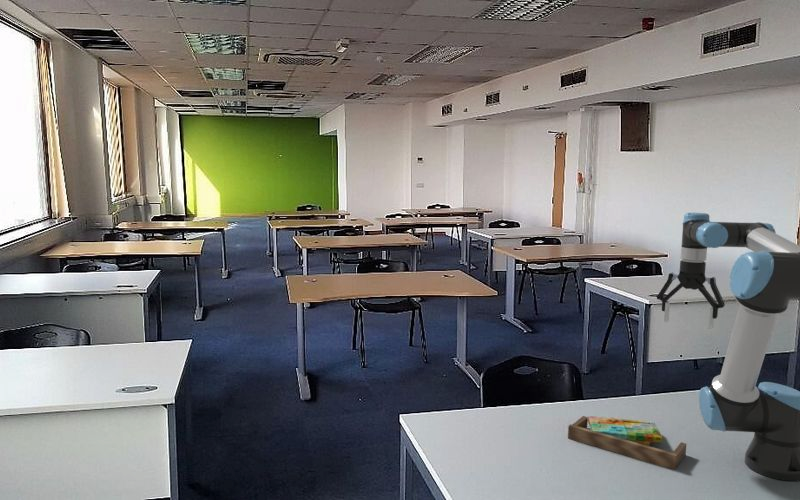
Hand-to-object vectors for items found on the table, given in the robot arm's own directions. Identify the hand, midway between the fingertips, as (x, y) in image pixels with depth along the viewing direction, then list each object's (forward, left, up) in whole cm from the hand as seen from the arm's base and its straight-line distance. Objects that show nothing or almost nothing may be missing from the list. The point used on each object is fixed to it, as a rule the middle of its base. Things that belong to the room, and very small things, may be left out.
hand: (688, 324), depth 205 cm
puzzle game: (+9, +29, -32) cm, 44 cm away
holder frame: (+7, +35, -32) cm, 48 cm away
